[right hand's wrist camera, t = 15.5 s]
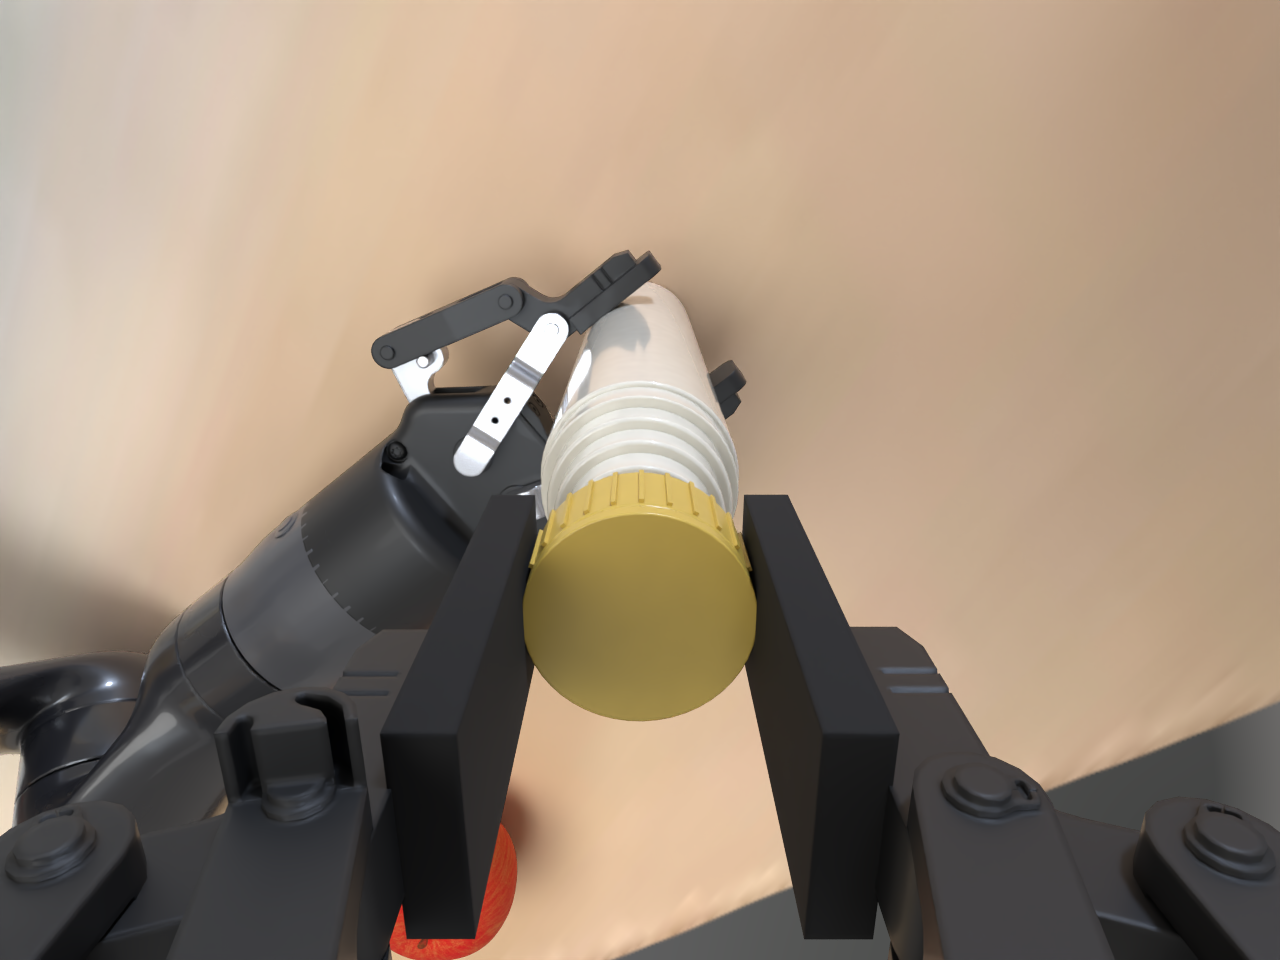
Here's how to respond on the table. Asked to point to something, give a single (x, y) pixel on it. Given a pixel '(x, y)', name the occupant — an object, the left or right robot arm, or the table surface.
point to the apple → (498, 900)
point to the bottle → (640, 406)
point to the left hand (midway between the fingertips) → (696, 318)
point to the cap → (639, 598)
